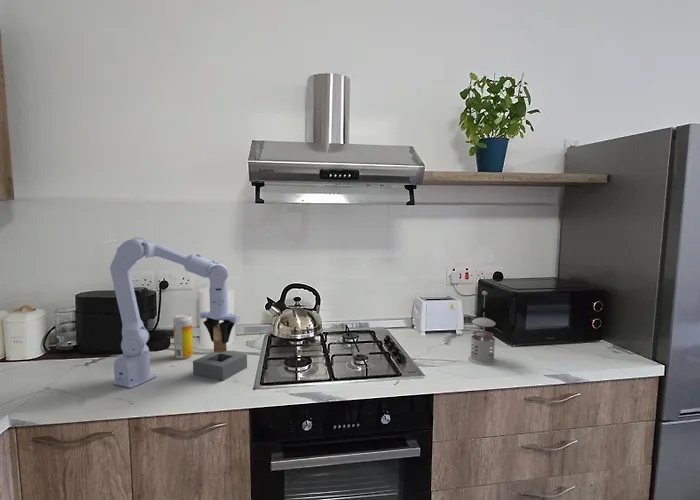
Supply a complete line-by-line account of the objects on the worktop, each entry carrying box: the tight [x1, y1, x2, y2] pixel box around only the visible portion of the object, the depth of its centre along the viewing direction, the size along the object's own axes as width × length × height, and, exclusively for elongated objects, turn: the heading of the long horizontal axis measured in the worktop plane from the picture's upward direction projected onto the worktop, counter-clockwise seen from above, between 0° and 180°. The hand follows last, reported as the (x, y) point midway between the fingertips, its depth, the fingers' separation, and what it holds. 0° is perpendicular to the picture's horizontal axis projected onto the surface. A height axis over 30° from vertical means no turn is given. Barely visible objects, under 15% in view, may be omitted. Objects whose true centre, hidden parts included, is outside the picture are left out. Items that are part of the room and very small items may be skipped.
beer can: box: [172, 313, 194, 360], centre depth 147 cm, size 6×6×15 cm
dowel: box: [213, 325, 228, 353], centre depth 134 cm, size 4×4×8 cm
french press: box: [467, 290, 497, 366], centre depth 145 cm, size 10×12×25 cm
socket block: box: [192, 350, 248, 382], centre depth 135 cm, size 12×12×4 cm
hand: (220, 341), depth 134 cm, fingers closed on dowel, 4 cm apart
